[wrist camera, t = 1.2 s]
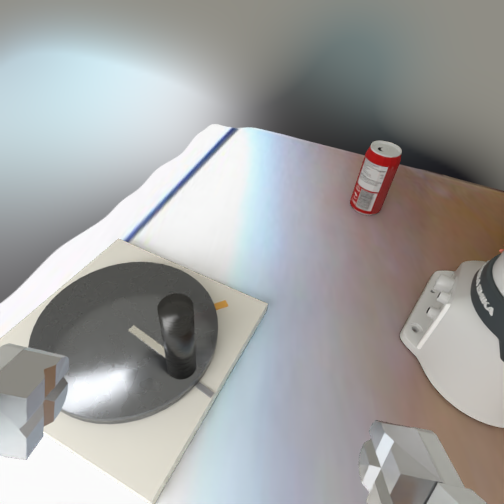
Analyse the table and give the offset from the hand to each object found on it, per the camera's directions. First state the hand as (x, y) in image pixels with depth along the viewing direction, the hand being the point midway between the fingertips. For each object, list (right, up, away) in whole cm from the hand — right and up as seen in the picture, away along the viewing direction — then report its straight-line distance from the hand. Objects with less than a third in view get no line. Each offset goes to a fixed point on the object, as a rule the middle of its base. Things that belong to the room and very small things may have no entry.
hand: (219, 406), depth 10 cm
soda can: (+21, +12, +57) cm, 62 cm away
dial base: (-13, -7, +33) cm, 36 cm away
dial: (-13, -5, +32) cm, 35 cm away
